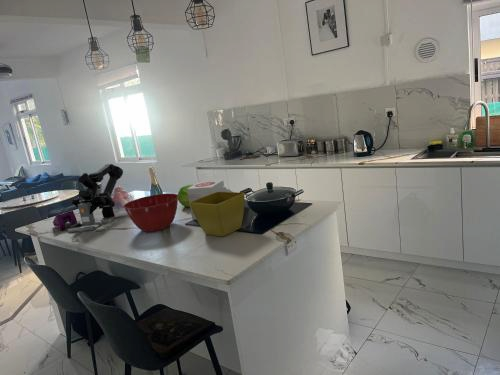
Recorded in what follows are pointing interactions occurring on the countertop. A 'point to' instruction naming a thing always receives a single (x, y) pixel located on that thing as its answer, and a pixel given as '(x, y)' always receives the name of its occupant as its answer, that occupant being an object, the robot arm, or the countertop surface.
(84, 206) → the block
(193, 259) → the countertop surface
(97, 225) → the rail plate
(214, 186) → the pizza boxes
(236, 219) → the flower pot
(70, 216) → the mounting bracket
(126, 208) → the mixing bowl
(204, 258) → the countertop surface
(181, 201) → the lettuce
